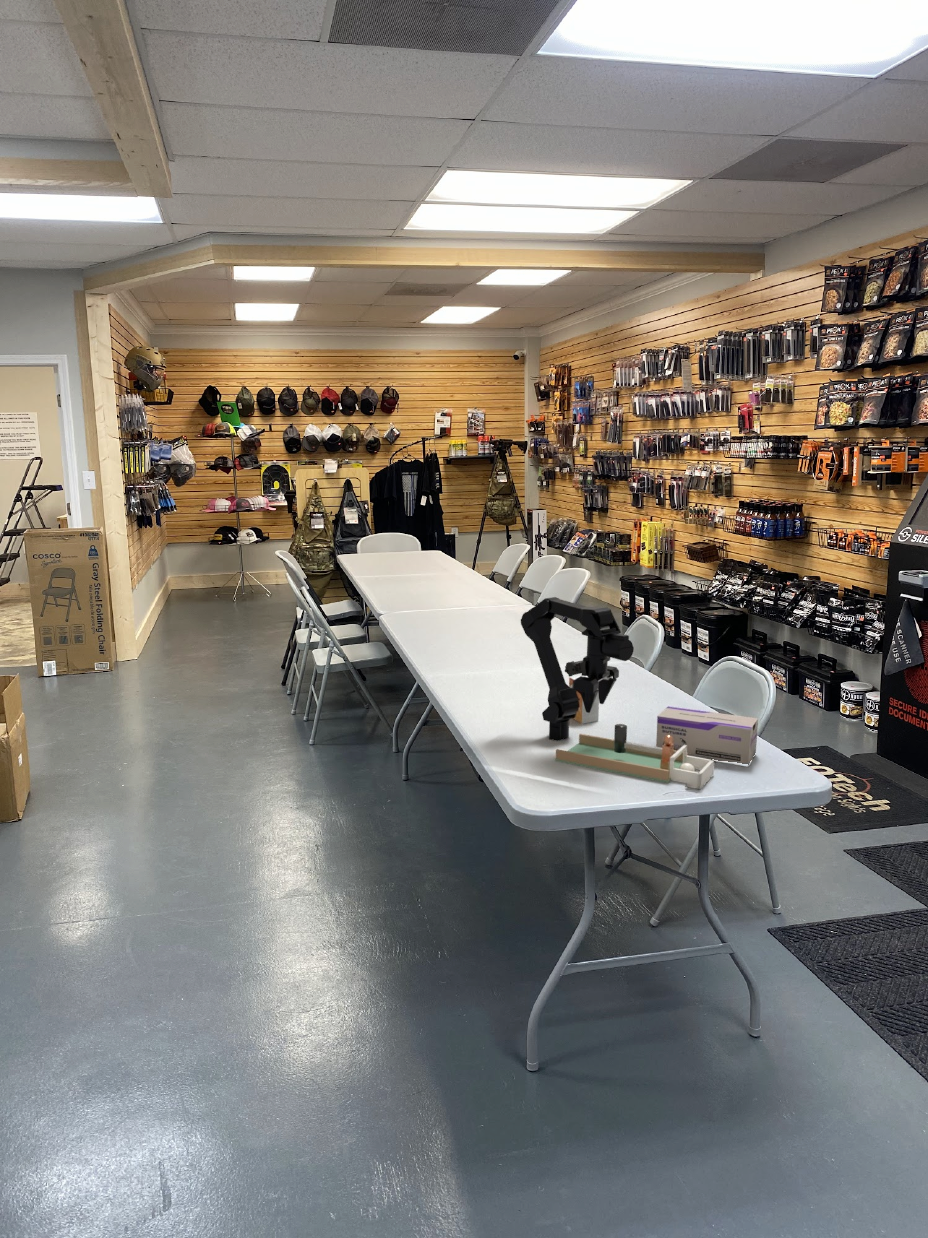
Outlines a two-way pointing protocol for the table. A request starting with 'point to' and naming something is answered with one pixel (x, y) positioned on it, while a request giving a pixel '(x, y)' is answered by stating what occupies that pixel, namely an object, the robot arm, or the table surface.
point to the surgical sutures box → (709, 733)
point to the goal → (689, 776)
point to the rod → (643, 746)
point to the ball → (687, 767)
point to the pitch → (616, 759)
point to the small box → (581, 713)
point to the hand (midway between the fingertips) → (594, 708)
